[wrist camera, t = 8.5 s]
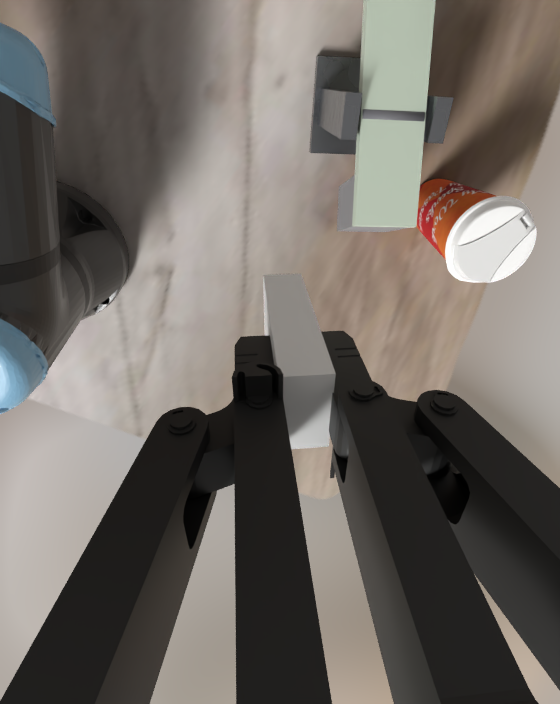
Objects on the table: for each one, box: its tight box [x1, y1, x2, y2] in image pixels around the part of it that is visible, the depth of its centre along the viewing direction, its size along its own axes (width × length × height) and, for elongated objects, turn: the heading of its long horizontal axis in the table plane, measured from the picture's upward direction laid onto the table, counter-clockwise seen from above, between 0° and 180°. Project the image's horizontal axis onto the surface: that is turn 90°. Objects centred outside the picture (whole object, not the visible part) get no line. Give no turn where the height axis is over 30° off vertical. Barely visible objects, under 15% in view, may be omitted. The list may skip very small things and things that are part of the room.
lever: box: [337, 0, 436, 232], centre depth 33 cm, size 5×21×8 cm, turn 178°
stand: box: [309, 56, 453, 154], centre depth 35 cm, size 9×8×12 cm
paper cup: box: [416, 179, 536, 283], centre depth 40 cm, size 8×8×14 cm
